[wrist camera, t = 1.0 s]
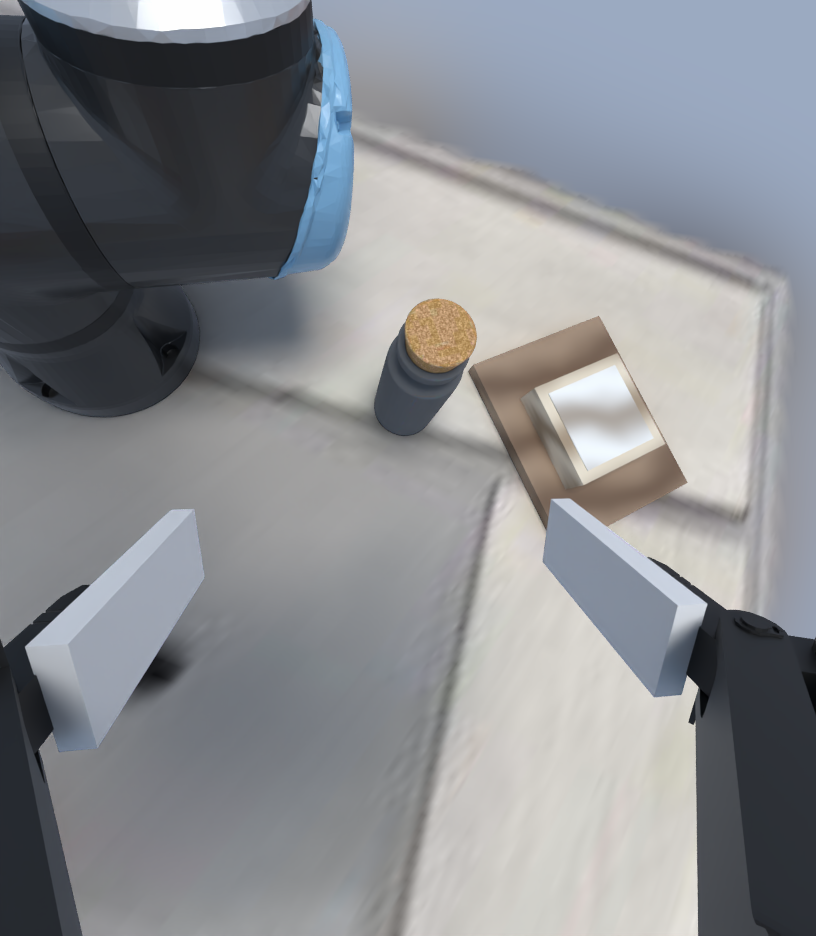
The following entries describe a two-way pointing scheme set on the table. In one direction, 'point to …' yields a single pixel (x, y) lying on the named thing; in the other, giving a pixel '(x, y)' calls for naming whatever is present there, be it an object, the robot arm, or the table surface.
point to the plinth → (577, 424)
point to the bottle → (424, 365)
